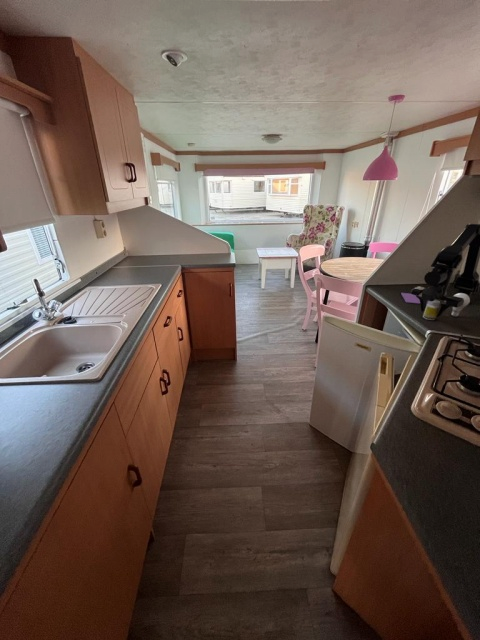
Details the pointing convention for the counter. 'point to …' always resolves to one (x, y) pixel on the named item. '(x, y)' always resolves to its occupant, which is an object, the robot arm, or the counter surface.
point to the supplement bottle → (431, 310)
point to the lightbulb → (457, 309)
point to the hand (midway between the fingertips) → (430, 314)
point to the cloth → (411, 298)
